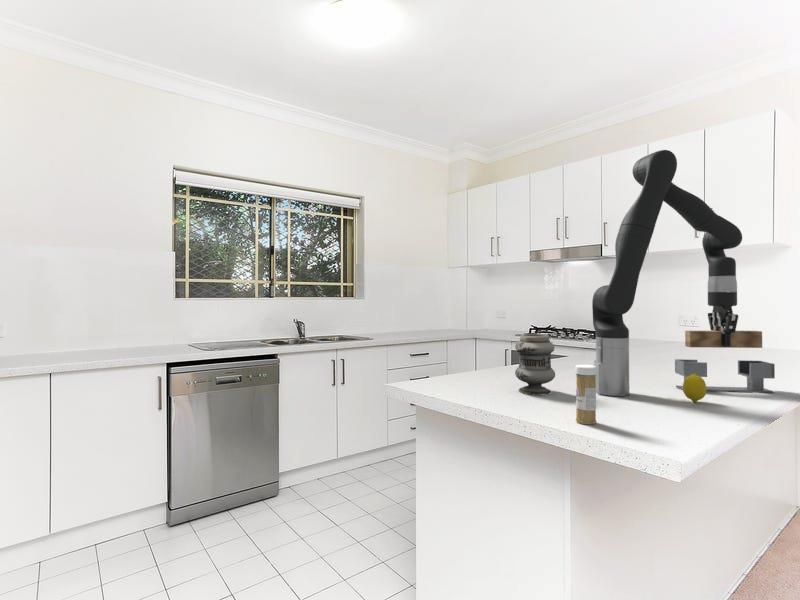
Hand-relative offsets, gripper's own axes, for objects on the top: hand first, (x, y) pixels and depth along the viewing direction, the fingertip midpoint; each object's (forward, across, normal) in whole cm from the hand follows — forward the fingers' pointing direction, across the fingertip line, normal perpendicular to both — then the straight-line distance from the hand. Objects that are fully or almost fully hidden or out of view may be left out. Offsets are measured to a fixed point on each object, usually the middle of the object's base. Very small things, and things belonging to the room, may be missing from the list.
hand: (722, 345), depth 140 cm
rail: (0, 0, 0) cm, 0 cm away
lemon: (+14, +19, -16) cm, 29 cm away
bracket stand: (+14, 0, 0) cm, 14 cm away
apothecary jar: (+14, +11, -58) cm, 61 cm away
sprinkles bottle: (+14, +45, -50) cm, 69 cm away
